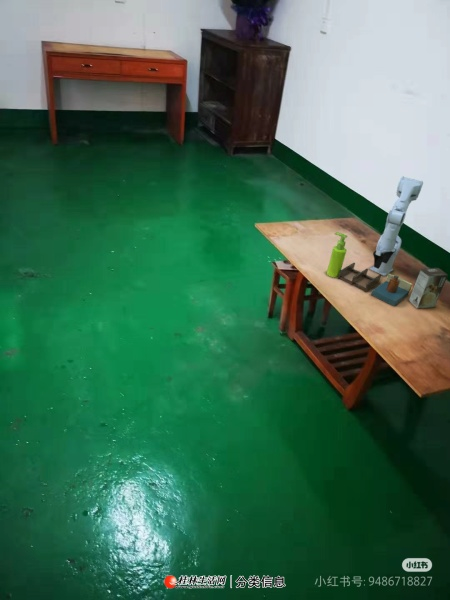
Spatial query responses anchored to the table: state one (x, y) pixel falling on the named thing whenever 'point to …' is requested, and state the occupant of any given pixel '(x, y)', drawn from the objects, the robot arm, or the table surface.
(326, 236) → the table surface
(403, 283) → the sill
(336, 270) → the soap dispenser
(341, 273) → the shelf rack
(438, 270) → the coffee box
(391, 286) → the bottle
